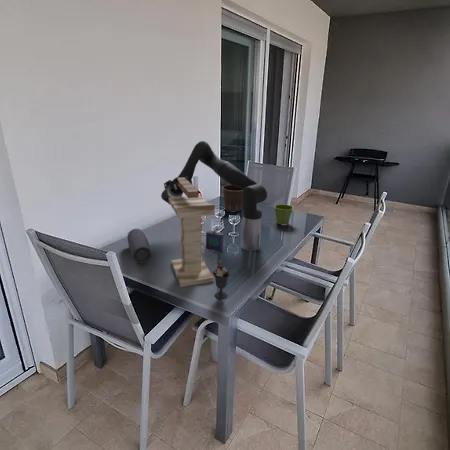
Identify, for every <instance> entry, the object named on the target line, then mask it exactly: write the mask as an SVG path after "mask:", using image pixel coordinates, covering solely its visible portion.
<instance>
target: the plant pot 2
mask: <svg viewBox="0 0 450 450" xmlns="http://www.w3.org/2000/svg"><path fill="white" fill-rule="evenodd" d="M273 206H274V211H275V220H276V222H277V223H279V224H288V225H289V221H290V219H291V215H292V211H293V210H294V208H295V207H294V206H292V205H290V204H284V203H279V204H275V205H273ZM277 223H276V224H277Z"/></svg>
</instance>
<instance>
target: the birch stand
mask: <svg viewBox="0 0 450 450" xmlns="http://www.w3.org/2000/svg"><path fill="white" fill-rule="evenodd" d="M169 203H170V204H169V205H170V206H171V208H172V210H173V211H174V213H175V214H176V217H177V218H178V219H180V244H181V245H180V249H181V254H180V255H181V258H179V259H173V260H170V261H171V262H170V263H171V264H170V265H171V267H172V269H173V271H174V274H175V277H176V280H177V281H178V284H179V287H180V288H182V287H183V288H184V287H188V286H194V285H199V284H200V285H201V284H207V283H213V282H214V275H213V273H211V271H210V269H209V268H208V266H207V265H206V263H205V261H204V260H203V258H202V217H203V216H204V217H205V216H215V212H216V210H215V207H216V205H215V204H214V203H208V201H206V200H205V198H204V197H203V196H201V195H198V198H188V197H187V196H182V197H174V198H169Z"/></svg>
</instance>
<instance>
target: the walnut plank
mask: <svg viewBox="0 0 450 450" xmlns="http://www.w3.org/2000/svg"><path fill="white" fill-rule="evenodd" d="M177 177H178V176H177ZM192 184H193V183H192ZM192 184H191V183H190V182H189V181H188V180H187V179H186V178H185V177H178V183H177V185H178V186H179V188H180V189H181V190H182V191H183V194H184V195H185V197H188V198H198V196H199V190H198V189H197V188H196V187H195V186H194V185H192Z"/></svg>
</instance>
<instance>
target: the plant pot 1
mask: <svg viewBox="0 0 450 450" xmlns="http://www.w3.org/2000/svg"><path fill="white" fill-rule="evenodd" d="M221 188H222V191H223V192H222V193H223V203H224V210H225V209H226V210H227V211H226V210H225V211H226V212H228V211H240V210H242V193H243V190H244V189H242V188H240V187H237V186H234V185H231V184H225V185H224V186H222V187H221ZM240 212H241V211H240Z"/></svg>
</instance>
